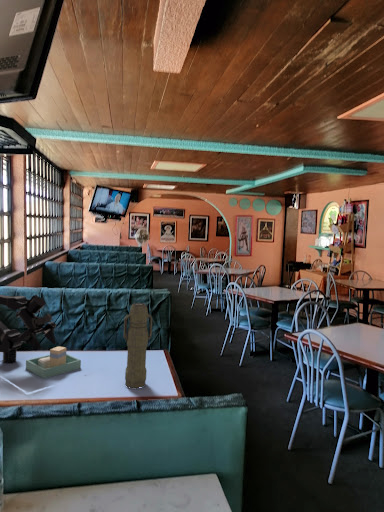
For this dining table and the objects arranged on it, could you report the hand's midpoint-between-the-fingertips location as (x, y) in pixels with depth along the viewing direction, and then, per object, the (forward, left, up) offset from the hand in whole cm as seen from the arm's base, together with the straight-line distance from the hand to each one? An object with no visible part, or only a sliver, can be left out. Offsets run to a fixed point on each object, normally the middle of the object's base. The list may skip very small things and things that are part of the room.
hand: (48, 346), depth 165 cm
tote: (+2, +2, -11) cm, 11 cm away
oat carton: (+5, +2, -10) cm, 12 cm away
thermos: (+40, +18, -11) cm, 45 cm away
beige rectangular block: (-2, +2, -10) cm, 11 cm away
